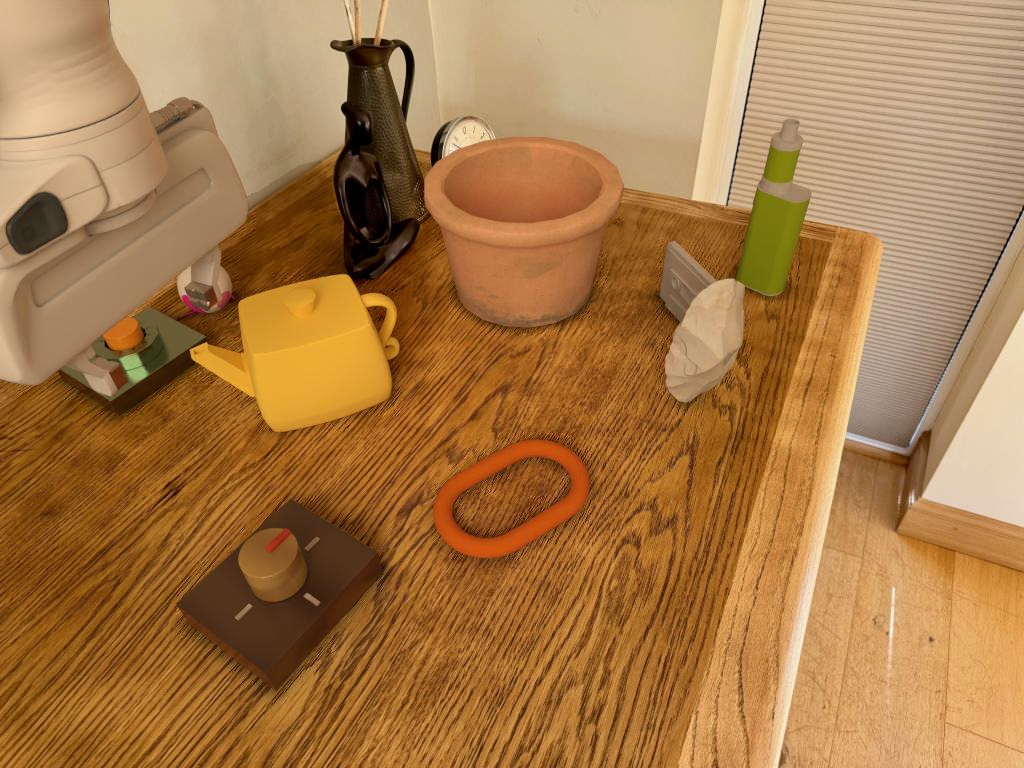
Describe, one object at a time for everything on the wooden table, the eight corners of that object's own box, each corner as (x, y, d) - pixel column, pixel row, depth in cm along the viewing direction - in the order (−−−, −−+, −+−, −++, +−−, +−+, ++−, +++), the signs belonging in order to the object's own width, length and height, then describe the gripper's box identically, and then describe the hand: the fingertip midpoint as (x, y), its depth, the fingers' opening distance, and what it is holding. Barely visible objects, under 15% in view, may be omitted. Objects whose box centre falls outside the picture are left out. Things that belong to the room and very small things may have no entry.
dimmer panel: (276, 692, 53) (265, 672, 51) (188, 623, 58) (174, 602, 55) (383, 572, 60) (377, 550, 58) (298, 518, 65) (290, 496, 62)
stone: (679, 429, 72) (703, 308, 61) (652, 394, 75) (671, 274, 65) (747, 407, 73) (782, 286, 63) (717, 374, 77) (746, 255, 67)
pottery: (448, 236, 98) (439, 133, 88) (612, 240, 96) (621, 137, 86) (420, 339, 82) (405, 229, 72) (615, 347, 81) (626, 235, 71)
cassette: (655, 296, 87) (663, 241, 82) (668, 293, 88) (677, 238, 82) (710, 357, 79) (723, 301, 74) (725, 353, 79) (739, 296, 74)
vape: (745, 266, 91) (782, 110, 77) (789, 285, 88) (836, 126, 74) (729, 279, 89) (765, 122, 75) (774, 299, 86) (819, 138, 72)
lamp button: (121, 355, 76) (115, 342, 74) (101, 343, 77) (94, 330, 76) (151, 336, 78) (145, 324, 77) (130, 325, 79) (124, 312, 78)
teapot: (225, 457, 70) (185, 367, 62) (210, 377, 78) (173, 289, 70) (422, 396, 75) (409, 306, 67) (388, 328, 84) (373, 241, 76)
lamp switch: (118, 416, 74) (103, 388, 72) (63, 380, 79) (45, 352, 76) (212, 351, 81) (201, 323, 79) (156, 321, 86) (144, 294, 83)
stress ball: (195, 318, 91) (148, 294, 86) (234, 269, 91) (190, 241, 86) (216, 347, 86) (168, 323, 81) (258, 295, 86) (212, 267, 81)
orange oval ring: (411, 493, 64) (546, 420, 70) (414, 505, 65) (546, 432, 71) (471, 571, 58) (612, 485, 64) (472, 582, 60) (611, 496, 66)
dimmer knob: (277, 612, 55) (265, 585, 52) (238, 584, 56) (224, 557, 54) (319, 569, 57) (309, 542, 55) (280, 543, 59) (268, 516, 56)
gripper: (162, 79, 48) (223, 255, 58) (-137, 234, 35) (7, 430, 44) (239, 92, 46) (289, 271, 56) (-45, 261, 33) (85, 459, 42)
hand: (163, 343), depth 50 cm, fingers open, 8 cm apart
